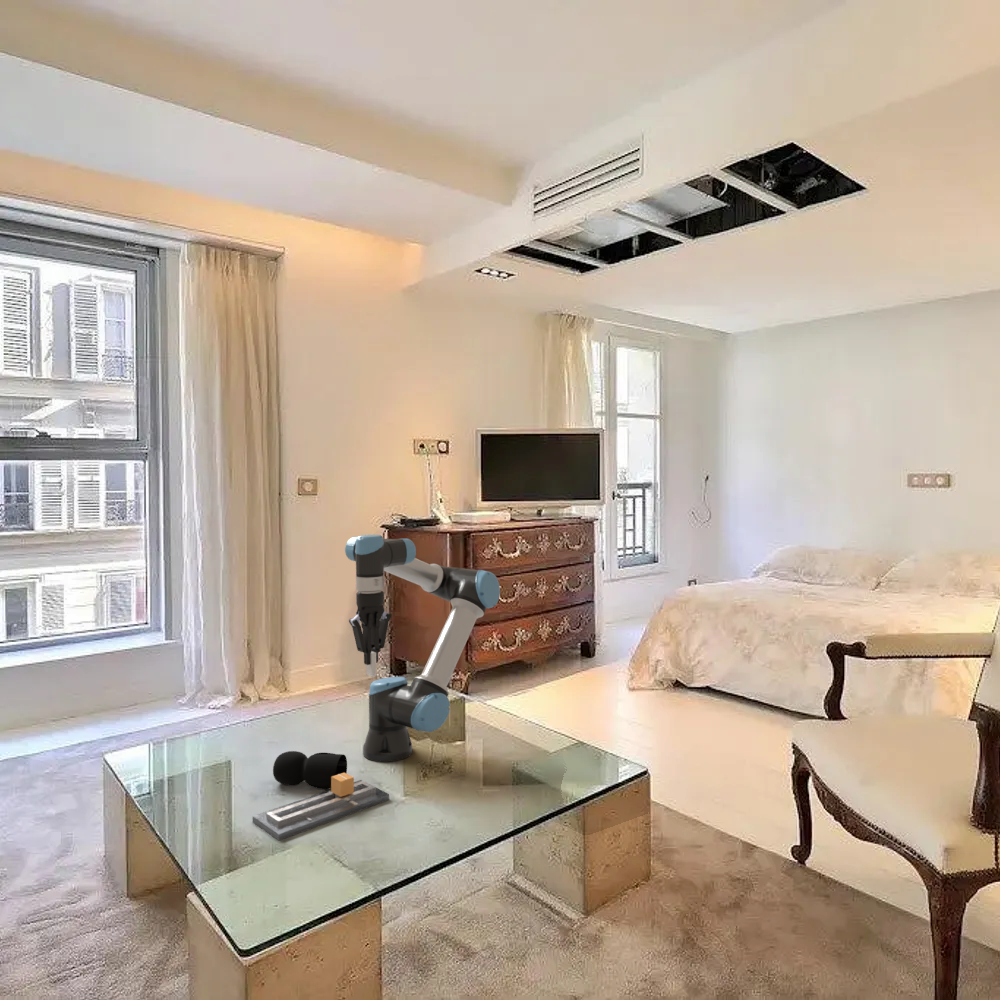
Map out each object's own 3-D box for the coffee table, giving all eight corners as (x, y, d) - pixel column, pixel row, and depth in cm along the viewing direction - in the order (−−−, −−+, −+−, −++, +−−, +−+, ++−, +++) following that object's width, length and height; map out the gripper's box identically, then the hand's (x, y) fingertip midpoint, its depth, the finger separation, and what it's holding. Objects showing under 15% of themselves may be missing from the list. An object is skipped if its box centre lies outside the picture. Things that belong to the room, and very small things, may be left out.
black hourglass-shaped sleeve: (352, 756, 209) (285, 752, 212) (342, 751, 201) (272, 747, 204) (346, 792, 204) (278, 786, 207) (335, 788, 196) (265, 783, 199)
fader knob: (340, 801, 190) (340, 781, 189) (331, 796, 193) (331, 776, 193) (353, 797, 192) (353, 776, 192) (344, 792, 196) (344, 772, 195)
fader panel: (278, 840, 173) (278, 828, 173) (252, 822, 182) (252, 810, 182) (389, 799, 195) (389, 789, 195) (360, 785, 204) (360, 775, 204)
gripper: (358, 595, 196) (359, 683, 197) (397, 589, 205) (398, 673, 206) (342, 592, 201) (343, 677, 202) (381, 586, 210) (382, 667, 212)
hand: (371, 675), depth 204 cm, fingers closed
